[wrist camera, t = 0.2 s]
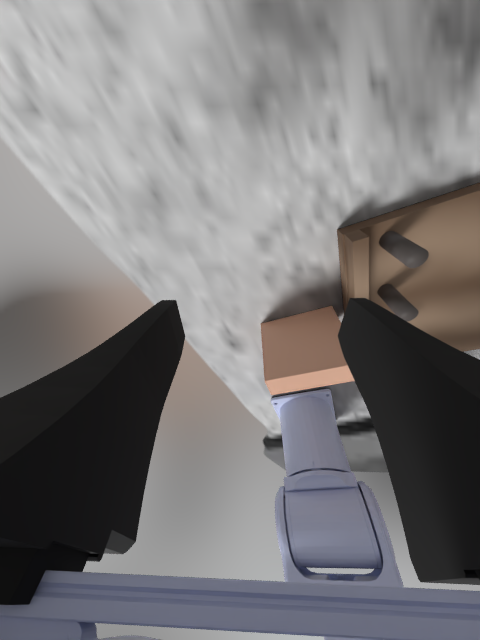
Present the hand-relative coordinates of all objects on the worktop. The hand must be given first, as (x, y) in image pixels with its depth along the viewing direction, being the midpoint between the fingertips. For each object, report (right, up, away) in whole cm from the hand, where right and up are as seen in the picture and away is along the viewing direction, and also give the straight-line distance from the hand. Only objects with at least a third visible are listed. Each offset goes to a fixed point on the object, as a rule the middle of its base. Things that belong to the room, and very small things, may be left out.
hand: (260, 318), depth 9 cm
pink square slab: (+5, 0, +13) cm, 14 cm away
